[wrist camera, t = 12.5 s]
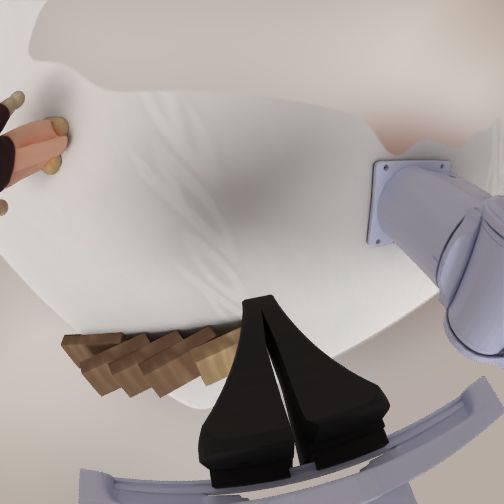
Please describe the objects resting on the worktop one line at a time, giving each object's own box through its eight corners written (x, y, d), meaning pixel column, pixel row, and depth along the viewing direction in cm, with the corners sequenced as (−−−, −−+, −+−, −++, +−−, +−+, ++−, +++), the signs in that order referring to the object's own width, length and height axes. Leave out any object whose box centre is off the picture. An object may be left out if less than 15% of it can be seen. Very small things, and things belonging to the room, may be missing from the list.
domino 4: (216, 335, 25) (143, 375, 22) (224, 361, 28) (160, 397, 24) (208, 326, 26) (137, 364, 23) (216, 352, 29) (153, 386, 25)
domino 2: (149, 342, 25) (82, 373, 21) (162, 367, 27) (101, 396, 23) (144, 332, 26) (79, 362, 22) (156, 358, 28) (97, 385, 24)
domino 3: (183, 339, 25) (112, 375, 21) (193, 364, 27) (130, 397, 24) (176, 329, 26) (107, 363, 22) (186, 355, 29) (125, 386, 25)
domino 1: (119, 342, 24) (60, 345, 24) (135, 367, 27) (79, 368, 26) (122, 330, 26) (64, 334, 25) (137, 355, 28) (81, 358, 27)
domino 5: (272, 325, 26) (195, 362, 23) (274, 352, 28) (206, 386, 25) (263, 316, 27) (189, 350, 24) (266, 343, 29) (200, 374, 26)
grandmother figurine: (69, 188, 17) (-30, 297, 7) (32, 183, 16) (-70, 278, 5) (81, 87, 13) (-57, 107, 3) (40, 87, 12) (-93, 118, 2)
